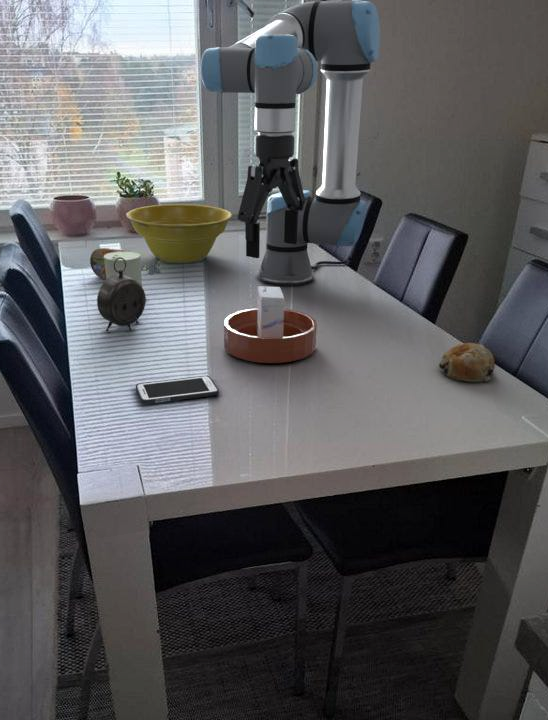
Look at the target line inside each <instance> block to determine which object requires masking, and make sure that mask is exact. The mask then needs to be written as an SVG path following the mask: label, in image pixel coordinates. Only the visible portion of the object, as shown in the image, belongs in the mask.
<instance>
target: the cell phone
mask: <svg viewBox="0 0 548 720" xmlns="http://www.w3.org/2000/svg"><path fill="white" fill-rule="evenodd" d="M135 391H136V393H137V396H138V398H139V401H140V403H141V404H143V405H149V404H156V403H157V404H158V403H163V402H174V401H180V400H181V401H183V400H190V399H199V398H207V397H213V396H218V395H219V393H220V390H219V388H218V387H217V385H216V383H215V381H214V379H213V378H212V377H211V376H209V375H199V376H190V377H181V378H172V379H164V380H155V381H147V382H140V383H136V384H135Z"/></svg>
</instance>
